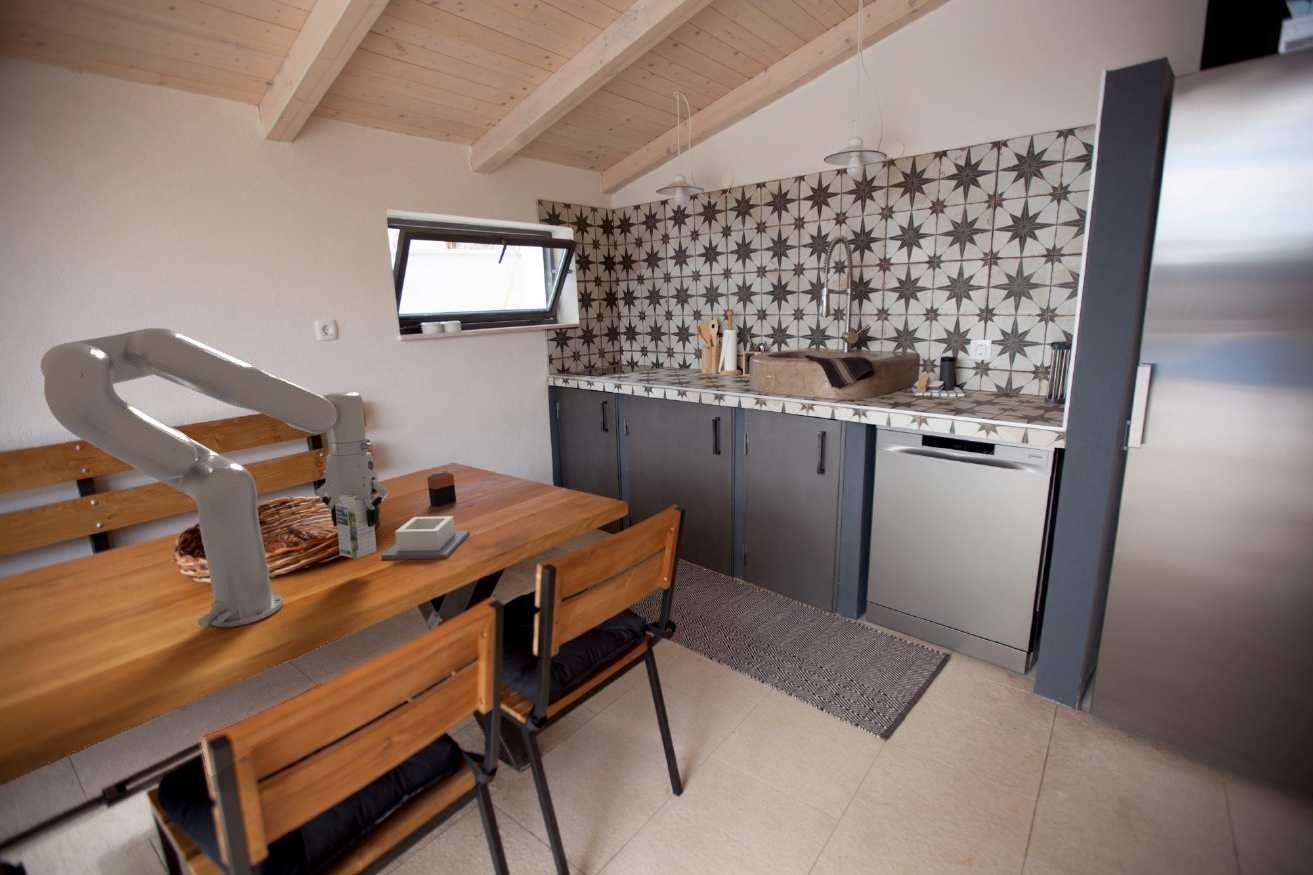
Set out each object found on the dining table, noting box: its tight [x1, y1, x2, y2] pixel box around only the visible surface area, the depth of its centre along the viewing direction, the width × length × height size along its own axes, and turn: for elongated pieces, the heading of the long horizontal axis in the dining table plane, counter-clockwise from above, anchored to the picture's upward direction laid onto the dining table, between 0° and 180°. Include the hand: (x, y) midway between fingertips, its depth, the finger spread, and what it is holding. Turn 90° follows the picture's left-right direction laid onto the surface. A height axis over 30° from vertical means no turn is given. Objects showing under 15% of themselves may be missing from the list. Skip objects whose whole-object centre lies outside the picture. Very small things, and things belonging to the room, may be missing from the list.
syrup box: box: [335, 495, 377, 560], centre depth 138 cm, size 6×6×14 cm
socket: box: [381, 515, 470, 560], centre depth 155 cm, size 16×16×6 cm
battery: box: [426, 470, 457, 508], centre depth 189 cm, size 4×7×10 cm, turn 137°
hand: (355, 524), depth 138 cm, fingers closed on syrup box, 7 cm apart
